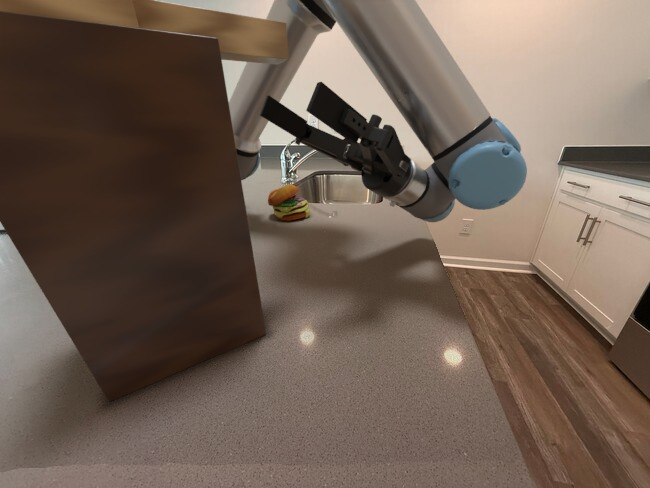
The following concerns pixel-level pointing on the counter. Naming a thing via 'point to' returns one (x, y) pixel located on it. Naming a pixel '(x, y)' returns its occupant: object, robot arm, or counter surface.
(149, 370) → the stand
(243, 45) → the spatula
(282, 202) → the cheeseburger
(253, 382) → the counter surface
